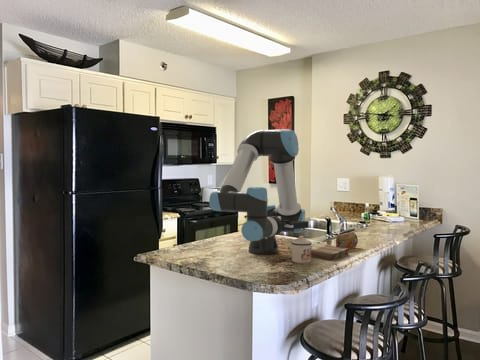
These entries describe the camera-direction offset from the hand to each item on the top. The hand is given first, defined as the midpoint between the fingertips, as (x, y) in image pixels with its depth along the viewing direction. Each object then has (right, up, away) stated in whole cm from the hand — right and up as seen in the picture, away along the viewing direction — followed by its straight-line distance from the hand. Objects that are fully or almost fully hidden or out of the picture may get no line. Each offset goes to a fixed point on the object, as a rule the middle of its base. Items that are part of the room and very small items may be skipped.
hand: (293, 220), depth 169 cm
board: (+20, -19, +19) cm, 34 cm away
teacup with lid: (+5, -20, +9) cm, 22 cm away
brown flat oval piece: (+32, -19, +34) cm, 51 cm away
